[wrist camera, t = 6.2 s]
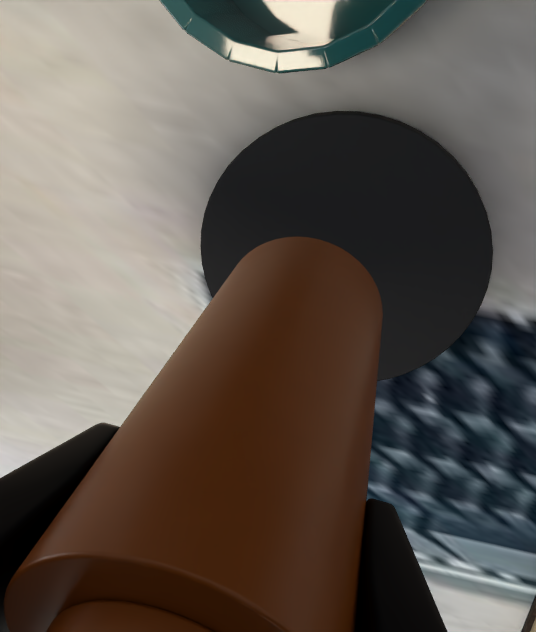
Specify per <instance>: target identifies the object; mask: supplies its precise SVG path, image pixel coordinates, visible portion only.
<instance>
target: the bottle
mask: <svg viewBox="0 0 536 632" xmlns="http://www.w3.org/2000/svg"><path fill="white" fill-rule="evenodd" d="M382 318H383V310H382V302H381V297H380V294H379V291H378V288H377V286H376V284H375V282H374V280H373V278H372V277H371V275H370V274H369V272H368V271H367V270H366V268H365V267H364V266H363V265H362V264H361V263H360V262H359V261H358V260H357V259H356V258H354V257H353V256H352V255H351V254H349V253H348V252H346V251H345V250H343V249H342V248H340V247H338V246H335V245H333V244H331V243H329V242H326V241H322V240H319V239H314V238H309V237H285V238H280V239H275V240H272V241H269V242H266V243H264V244H262V245H260V246H258V247H256V248H255V249H253V250H252V251H250V252H249V253H248V254H247V255H246V256H245V257H243V258H242V259H241V261H240V262H239V263H238V264H237V266H236V267H235V268H234V270H233V271H232V273H231V274H230V275H229V277H228V278H227V280H226V281H225V282H224V284H223V285H222V286H221V288H220V289H219V291H218V292H217V293H216V295H215V296H214V298H213V299H212V300H211V302H210V303H209V305H208V306H207V307H206V309H205V310H204V311H203V313H202V314H201V316H200V317H199V318H198V320H197V321H196V323H195V324H194V325H193V327H192V328H191V330H190V331H189V332H188V334H187V335H186V336H185V338H184V339H183V341H182V342H181V343H180V345H179V346H178V348H177V349H176V350H175V352H174V353H173V355H172V356H171V357H170V359H169V360H168V361H167V363H166V364H165V366H164V367H163V368H162V370H161V371H160V373H159V374H158V375H157V377H156V378H155V380H154V381H153V382H152V384H151V385H150V386H149V388H148V389H147V391H146V392H145V393H144V395H143V396H142V398H141V399H140V400H139V402H138V403H137V405H136V406H135V407H134V409H133V410H132V411H131V413H130V414H129V416H128V417H127V418H126V420H125V421H124V423H123V424H122V425H121V427H120V428H119V430H118V431H117V432H116V434H115V435H114V436H113V438H112V439H111V441H110V442H109V443H108V445H107V446H106V448H105V449H104V450H103V452H102V453H101V455H100V456H99V457H98V459H97V460H96V461H95V463H94V464H93V466H92V467H91V468H90V470H89V471H88V473H87V474H86V475H85V477H84V478H83V480H82V481H81V482H80V484H79V485H78V486H77V488H76V489H75V491H74V492H73V493H72V495H71V496H70V498H69V499H68V500H67V502H66V503H65V504H64V506H63V507H62V509H61V510H60V511H59V513H58V514H57V516H56V517H55V518H54V520H53V521H52V523H51V524H50V525H49V527H48V528H47V529H46V531H45V532H44V534H43V535H42V536H41V538H40V539H39V541H38V542H37V543H36V545H35V546H34V548H33V549H32V550H31V552H30V553H29V554H28V556H27V557H26V559H25V560H24V561H23V563H22V564H21V566H20V567H19V568H18V570H17V571H16V573H15V574H14V575H13V577H12V578H11V580H10V582H9V584H8V586H7V588H6V592H5V598H4V603H3V604H4V616H5V619H6V623H7V627H8V629H9V631H10V632H355V622H356V611H357V599H358V588H359V577H360V566H361V554H362V543H363V532H364V521H365V509H366V498H367V487H368V476H369V464H370V453H371V442H372V431H373V419H374V408H375V397H376V386H377V374H378V363H379V352H380V340H381V329H382Z"/></svg>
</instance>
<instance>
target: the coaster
mask: <svg viewBox="0 0 536 632" xmlns="http://www.w3.org/2000/svg"><path fill="white" fill-rule="evenodd" d="M285 237H309V238H314V239H319V240H322V241H326V242H329V243H331V244H333V245H335V246H338V247H340V248H342V249H343V250H345V251H346V252H348V253H349V254H351V255H352V256H353V257H354V258H356V259H357V260H358V261H359V262H360V263H361V264H362V265H363V266H364V267H365V268H366V270H367V271H368V272H369V274H370V275H371V277H372V278H373V280H374V282H375V284H376V286H377V288H378V291H379V294H380V297H381V302H382V310H383V318H382V329H381V340H380V352H379V363H378V374H377V381H380V380H385V379H390V378H393V377H396V376H399V375H403V374H405V373H408V372H410V371H412V370H414V369H417V368H419V367H421V366H423V365H424V364H426V363H428V362H429V361H431V360H433V359H435V358H436V357H437V356H439V355H440V354H441V353H442V352H444V351H445V350H446V349H448V348H449V347H450V346H451V345H452V344H453V343H454V342H455V341H456V340H457V339H458V338H459V337H460V336H461V335H462V333H463V332H464V331H465V329H466V328H467V327H468V326H469V324H470V323H471V322H472V320H473V318H474V317H475V315H476V313H477V311H478V309H479V308H480V306H481V304H482V301H483V298H484V296H485V293H486V291H487V288H488V284H489V279H490V275H491V270H492V256H493V247H492V235H491V229H490V225H489V221H488V217H487V212H486V210H485V208H484V205H483V203H482V200H481V198H480V195H479V193H478V191H477V189H476V187H475V185H474V184H473V182H472V180H471V179H470V177H469V176H468V174H467V172H466V171H465V170H464V169H463V168H462V166H461V165H460V164H459V163H458V162H457V160H456V159H455V158H454V157H453V156H452V155H451V154H450V153H449V152H448V151H447V150H445V149H444V148H443V147H442V146H441V145H440V144H439V143H438V142H436V141H435V140H433V139H432V138H430V137H429V136H427V135H426V134H424V133H422V132H421V131H419V130H417V129H415V128H413V127H411V126H409V125H407V124H405V123H402V122H400V121H397V120H394V119H391V118H387V117H384V116H381V115H376V114H370V113H364V112H354V111H333V112H325V113H317V114H312V115H308V116H305V117H301V118H297V119H294V120H292V121H289V122H287V123H285V124H282V125H280V126H277V127H276V128H274V129H272V130H271V131H269V132H267V133H266V134H264V135H262V136H261V137H259V138H258V139H256V140H255V141H254V142H253V143H251V144H250V145H249V146H248V147H247V148H245V149H244V150H243V151H242V152H241V153H240V154H239V155H238V156H237V157H236V158H235V159H234V160H233V161H232V162H231V163H230V164H229V166H228V167H227V168H226V170H225V171H224V173H223V174H222V176H221V177H220V179H219V180H218V182H217V184H216V186H215V188H214V190H213V192H212V194H211V196H210V198H209V201H208V204H207V207H206V210H205V213H204V219H203V224H202V230H201V256H202V265H203V270H204V274H205V279H206V282H207V285H208V288H209V290H210V293H211V296H212V298H214V296H215V295H216V293H217V292H218V291H219V289H220V288H221V286H222V285H223V284H224V282H225V281H226V280H227V278H228V277H229V275H230V274H231V273H232V271H233V270H234V268H235V267H236V266H237V264H238V263H239V262H240V261H241V259H242V258H243V257H245V256H246V255H247V254H248V253H249V252H250V251H252V250H253V249H255V248H256V247H258V246H260V245H262V244H264V243H266V242H269V241H272V240H275V239H280V238H285Z"/></svg>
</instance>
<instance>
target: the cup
mask: <svg viewBox="0 0 536 632" xmlns="http://www.w3.org/2000/svg"><path fill="white" fill-rule="evenodd" d="M159 1H160V2H161V3H162V4H163V6H164V7H165V8H166V9H167V10H168V12H169V13H170V14H171V15H172V17H173V18H174V19H175V20H176V22H177V23H178V24H179V25H180V27H181V28H182V29H183V30H185V31H186V33H187V34H189V35H190V36H192V37H193V38H195V39H196V40H198V41H199V42H201V43H202V44H204V45H205V46H207V47H208V48H210V49H211V50H213V51H214V52H216V53H217V54H219V55H220V56H222V57H223V58H225V59H226V60H229V61H230V62H234V63H238V64H242V65H246V66H249V67H253V68H257V69H261V70H265V71H269V72H273V73H288V72H298V71H308V70H318V69H326V68H328V67H332V66H334V65H337V64H339V63H341V62H343V61H345V60H347V59H349V58H352V57H354V56H356V55H358V54H360V53H362V52H364V51H366V50H369V49H371V48H373V47H375V46H377V45H378V44H380V43H382V42H383V41H384V40H386V39H387V38H388V37H389V36H391V35H392V34H393V33H394V32H395V31H396V30H397V29H398V28H399V27H401V26H402V25H403V24H404V23H405V22H406V21H407V20H408V19H409V18H410V17H412V16H413V15H414V14H415V13H416V12H417V11H418V10H419V9H420V8H421V7H422V6H423V5H424V4H425V3H426V1H427V0H159Z"/></svg>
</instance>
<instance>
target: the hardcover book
mask: <svg viewBox="0 0 536 632" xmlns="http://www.w3.org/2000/svg"><path fill="white" fill-rule="evenodd" d="M522 632H536V597H535V600H534V602H533V605H532V607H531V610H530V613H529V615H528V618H527V620H526V623H525V625H524V628H523V630H522Z"/></svg>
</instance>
